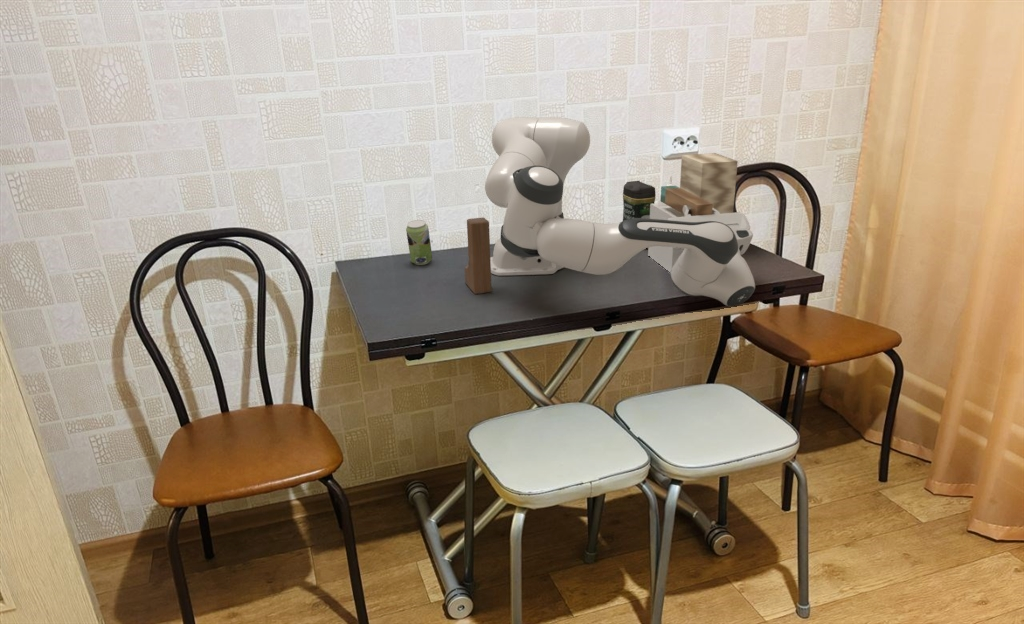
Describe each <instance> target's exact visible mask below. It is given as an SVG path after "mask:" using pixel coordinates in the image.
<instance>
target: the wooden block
mask: <svg viewBox="0 0 1024 624" xmlns="http://www.w3.org/2000/svg"><path fill="white" fill-rule="evenodd" d="M466 229H467V230H466V231H467V234H466V236H467V254H468V265H467V266H465V267H464V278H465V279H464V281H465V284H466V286H467V287H468V288H469V289H470V290H471V291H472V293H473V294H475V295H477V294H485V293H486V292H487V293H491V292H492V273H491V261H490V257H491V240H490V239H491V238H490V222H489V220H487V219H486V218H485V217H475V218H468V219H466Z"/></svg>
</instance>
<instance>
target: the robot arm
mask: <svg viewBox="0 0 1024 624" xmlns="http://www.w3.org/2000/svg"><path fill="white" fill-rule="evenodd" d="M491 144H492V148H493V150H494V152H495V153H496V155H498V157H497V159H496V160H495V162H494V163H493V164H492V166H491V168H490V170H489V172H488V174H487V177H486V179H485V184H484V191H485V194H486V197H487V198H488V200H489V201H490V202H491V203H492V204H493V205H495V206H497V207H500V208H503V209H505V214H504V217H503V224H502V226H501V227H500V228H501V229H500V238H499V239H497V240H496V242H495V244H494V247H493V253H492V256H490V261H491V275H492V274H493V275H495V276H526V275H527V276H531V275H532V276H534V275H552V274H555V273H556V272H558V270H561V269H564V268H566V269H569V270H572V271H577V272H581V273H586V274H590V275H597V276H599V275H601V276H602V275H608V274H611V273H614V272H616V271H618V270H619V269H620V268H621V267H623V266H624V265H625V264H626V263H627V262H628V261H630V259H632V258H633V257H634V256H636V255H637V254H639V253H640V252H642V251H644V250H647V249H648V248H649V247H653V246H663V247H674V248H678V249H680V250H683V252H682V253H681V255H680V256H679V258H678V259H677V261H676V263H675V264H674V266H673V268H672V270H671V272H670V273H669V274H670V279H671V282H672V283H673V286H674V287H675V288H676V290H678V291H679V292H680V293H682V294H683V295H685V296H689V297H702V296H703V297H708V298H711V299H714V300H717V301H719V302H721V303H722V304H723V305H725V306H726V307H730V308H731V307H732V308H733V307H736V306H737V307H738V306H740V305H742V304H743V303H745V302H747V301H748V300H749V299H750V297H751V296H752V295H753V294H754V292H755V289H756V282H755V278H754V276H753V273H752V271H751V268H750V266H749V265H748V263H747V261H746V259H745V258H744V257H742V255H743V254H745V253H746V252H747V250H748V248H749V247H750V245H751V243H752V239H753V236H754V233H753V231H752V230H751V225H750V223H749V221H748V218H747V216H746V215H745V214H743V213H742V212H740V211H739V212H733V213H723V214H720V212H719V211H717V210H716V209H714V208H712V214H710V215H698V216H691V215H690V213H691V210H692V209H691V207H690V205H684V206H683V209H682V210H683V213H684V217H673V218H668V219H667V220H659V219H646V218H630V219H627V220H624V221H623V220H622V221H619V222H612V223H611V222H610V223H599V222H598V223H597V222H592V221H587V220H582V219H573V218H565V217H564V212H563V194H564V184H565V181H566V178H567V175H568V174H569V173H570V171H571V169H572V168H573V167H574V166H575V165H576V164H577V163H578V162H579V161H581V160H582V159H583V158H584V157H585V156H586V154H587V153H588V151H589V149H590V146H591V135H590V131H589V129H588V127H587V126H586V124H585V123H584V122H583V121H580V120H576V119H571V118H567V117H531V116H530V117H527V116H526V117H525V116H518V117H510V118H505V119H501V120H499V121H498V122H497V123H496V124H495V126H494V127H493V131H492V134H491ZM646 248H647V249H646Z"/></svg>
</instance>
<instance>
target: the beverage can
mask: <svg viewBox="0 0 1024 624" xmlns="http://www.w3.org/2000/svg"><path fill="white" fill-rule="evenodd" d="M405 231H406V239H407V243H408V250H409V251H408V252H409V258H410V261H411V263H413V264H414V265H417V266H425V265H426V264H429V263H430V262H432V260H433V253H432V244H431V236H430V230H429V225H428V224H427V223H426V221H425V220H422V219H414V220H411V221H410V222H408V223H407V226H406V228H405Z"/></svg>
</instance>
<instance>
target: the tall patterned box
mask: <svg viewBox="0 0 1024 624" xmlns="http://www.w3.org/2000/svg"><path fill="white" fill-rule="evenodd" d="M680 162H681V164H680V177H679V178H680V182H679V188H681V189H683V190H685V191H687V192H689V193H691V194H693V195H696V196H698V197H700V198H702V199H704V200H706V201H708V202H710V203H712V204H713V207H712V208H714V209H716V210H717V211H719V212H720V214H723V213H734V207H735V206H734V205H735V198H736V197H735V196H736V184H737V172H738V164H739V161H738V160H735V159H733V158H730V157H727V156H725V155H721V154H720V153H716V152H709V153H696V154H693V153H692V154H682V155H681V161H680Z"/></svg>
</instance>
